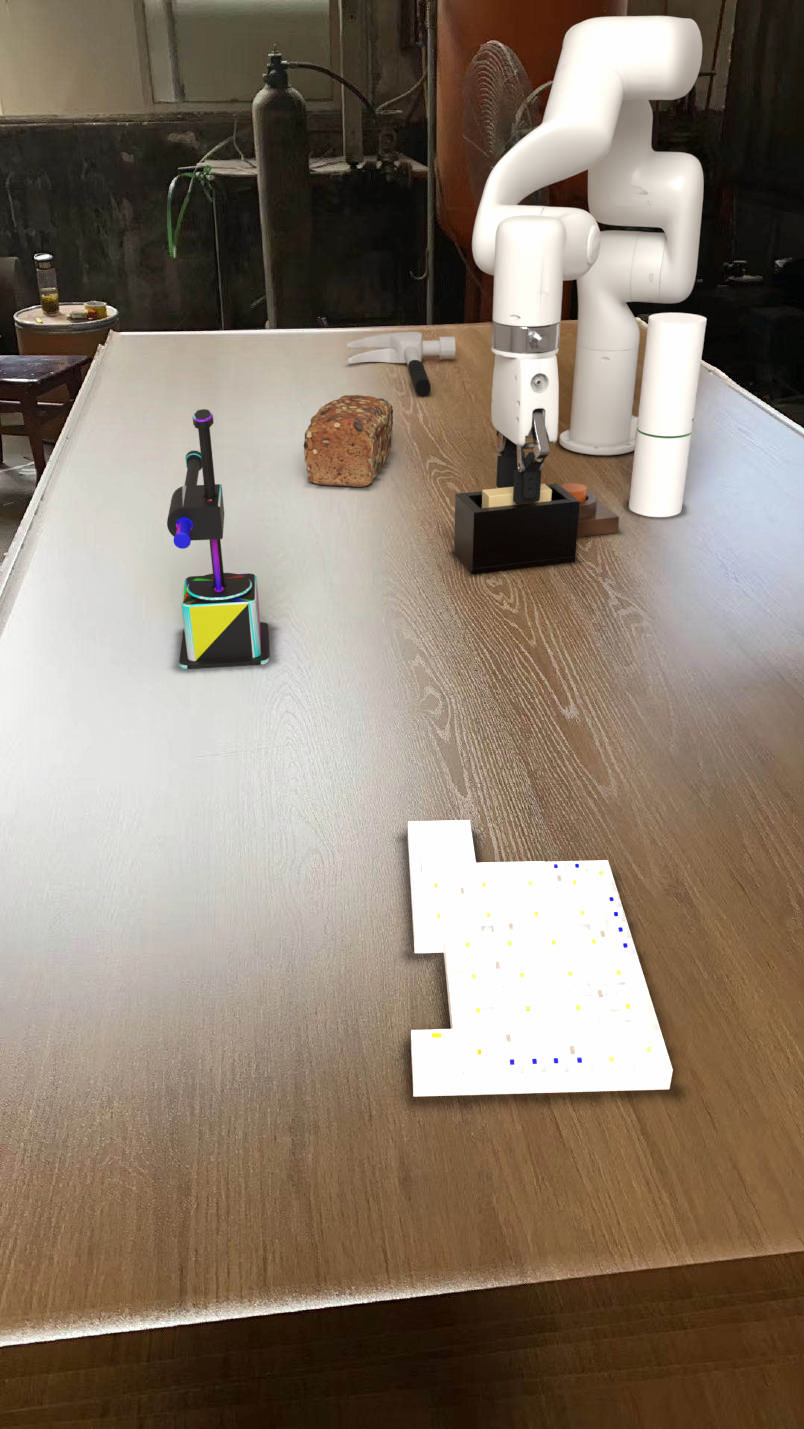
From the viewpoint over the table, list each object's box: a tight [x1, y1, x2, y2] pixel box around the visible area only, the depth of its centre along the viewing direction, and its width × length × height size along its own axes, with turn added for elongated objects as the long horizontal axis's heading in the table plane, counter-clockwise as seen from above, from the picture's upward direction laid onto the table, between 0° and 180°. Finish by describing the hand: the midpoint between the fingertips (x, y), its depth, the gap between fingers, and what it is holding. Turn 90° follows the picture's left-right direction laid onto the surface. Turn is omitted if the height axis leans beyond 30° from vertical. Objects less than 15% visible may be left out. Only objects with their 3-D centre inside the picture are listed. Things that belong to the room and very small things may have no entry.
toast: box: [481, 483, 552, 508], centre depth 132 cm, size 8×2×8 cm, turn 106°
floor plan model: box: [407, 819, 674, 1098], centre depth 75 cm, size 15×25×2 cm, turn 2°
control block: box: [577, 491, 620, 538], centre depth 143 cm, size 10×8×4 cm
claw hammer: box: [347, 331, 457, 397], centre depth 213 cm, size 5×22×30 cm
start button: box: [559, 482, 588, 502], centre depth 142 cm, size 4×4×2 cm
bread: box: [303, 394, 394, 488], centre depth 163 cm, size 19×11×10 cm, turn 170°
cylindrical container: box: [628, 312, 708, 518], centre depth 143 cm, size 7×7×25 cm
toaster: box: [453, 482, 580, 575], centre depth 133 cm, size 13×7×8 cm, turn 106°
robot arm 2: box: [166, 408, 270, 670], centre depth 112 cm, size 25×9×24 cm, turn 7°
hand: (517, 492), depth 131 cm, fingers open, 4 cm apart
